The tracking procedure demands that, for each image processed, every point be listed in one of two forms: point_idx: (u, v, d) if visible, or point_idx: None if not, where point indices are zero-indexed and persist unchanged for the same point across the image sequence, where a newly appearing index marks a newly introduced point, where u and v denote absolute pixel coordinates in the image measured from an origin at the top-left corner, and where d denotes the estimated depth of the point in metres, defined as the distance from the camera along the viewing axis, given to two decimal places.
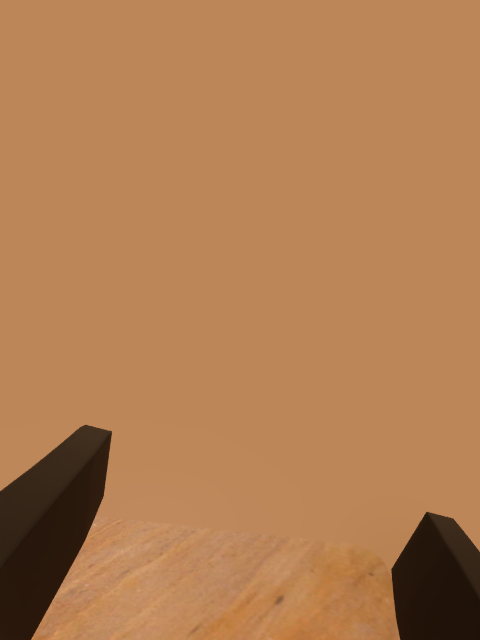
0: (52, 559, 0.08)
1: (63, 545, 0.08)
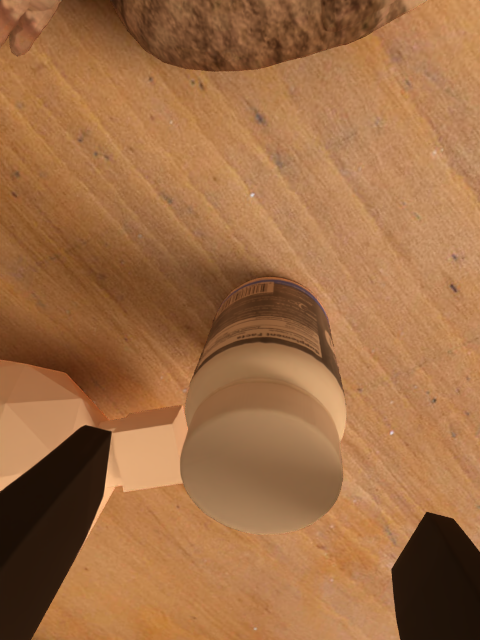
0: (52, 559, 0.08)
1: (63, 545, 0.08)
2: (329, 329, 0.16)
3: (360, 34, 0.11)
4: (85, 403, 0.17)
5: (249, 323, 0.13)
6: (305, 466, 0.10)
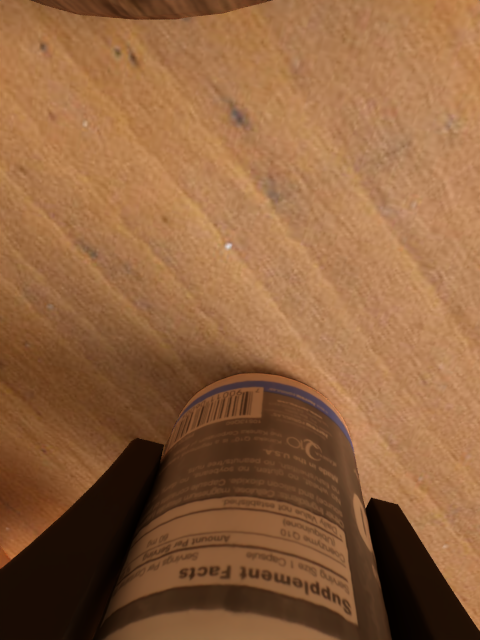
0: (115, 575, 0.08)
1: None
2: (356, 471, 0.09)
3: None
4: None
5: (210, 520, 0.07)
6: None
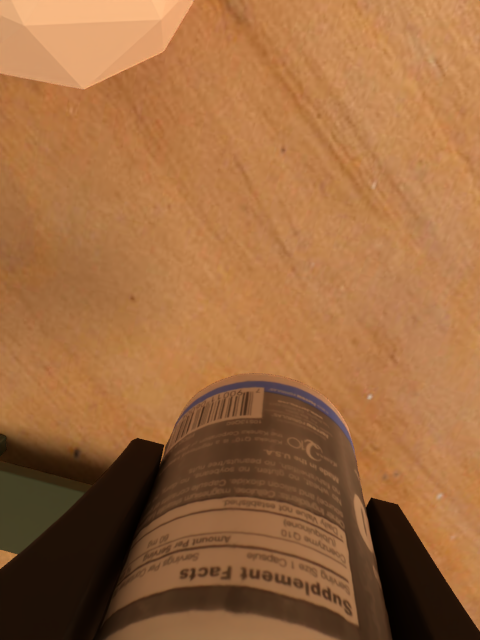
0: (115, 575, 0.08)
1: None
2: (357, 471, 0.09)
3: None
4: None
5: (211, 521, 0.07)
6: None
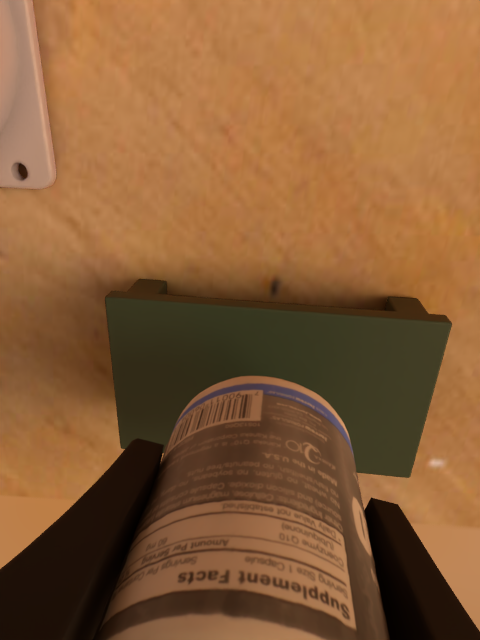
0: (115, 575, 0.08)
1: None
2: (355, 474, 0.09)
3: None
4: None
5: (209, 524, 0.07)
6: None
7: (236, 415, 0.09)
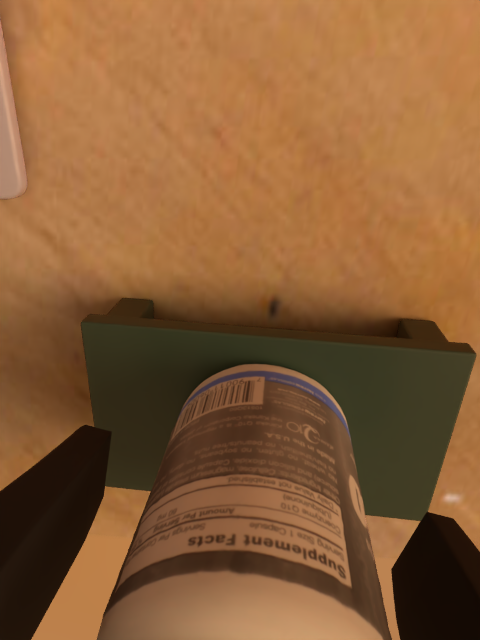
0: (52, 559, 0.08)
1: (63, 545, 0.08)
2: (352, 456, 0.10)
3: None
4: None
5: (216, 495, 0.07)
6: None
7: (239, 399, 0.10)
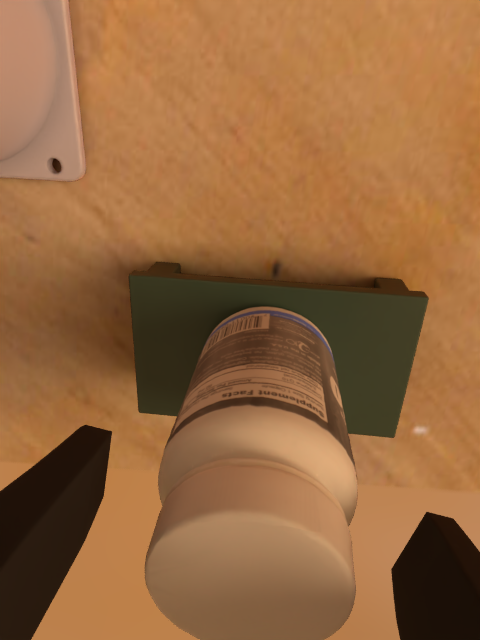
0: (52, 559, 0.08)
1: (63, 545, 0.08)
2: (334, 370, 0.13)
3: None
4: None
5: (238, 374, 0.11)
6: (307, 581, 0.08)
7: (251, 326, 0.13)
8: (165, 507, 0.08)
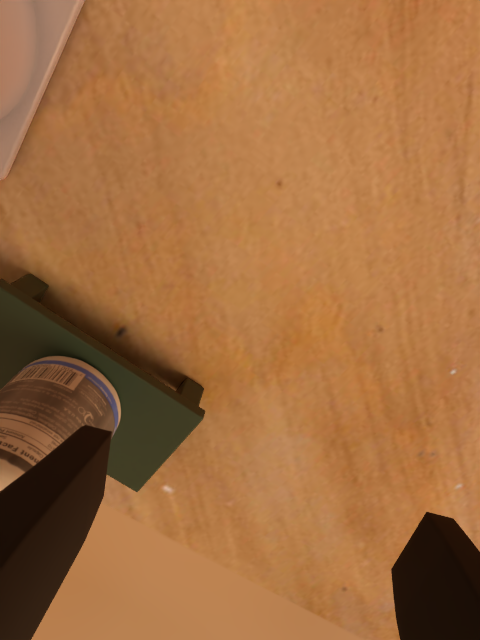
0: (52, 559, 0.08)
1: (63, 545, 0.08)
2: None
3: None
4: None
5: (19, 426, 0.14)
6: None
7: (63, 381, 0.16)
8: None
